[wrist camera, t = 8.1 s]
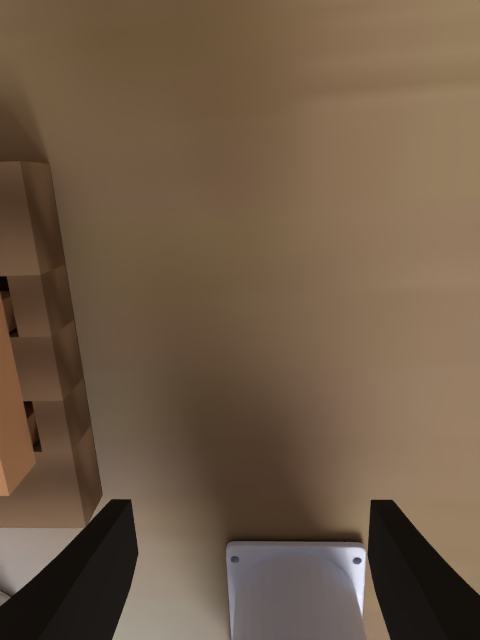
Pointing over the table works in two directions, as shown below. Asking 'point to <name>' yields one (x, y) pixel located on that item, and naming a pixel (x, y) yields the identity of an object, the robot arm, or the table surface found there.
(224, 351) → the table surface
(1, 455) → the tan wooden block
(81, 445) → the rail
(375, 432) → the table surface
